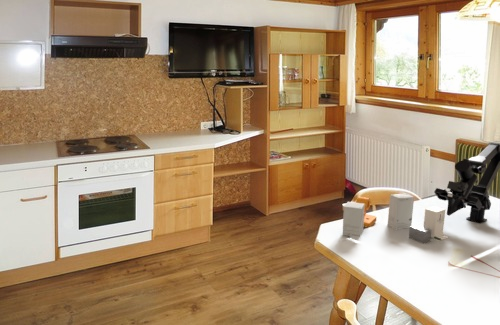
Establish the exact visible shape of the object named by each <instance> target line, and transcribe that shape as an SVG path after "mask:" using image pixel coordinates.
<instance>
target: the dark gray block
mask: <svg viewBox="0 0 500 325" xmlns="http://www.w3.org/2000/svg"><path fill="white" fill-rule="evenodd" d="M431 231H432V230H431V229H428V228H425V227H424V226H421V225H420V224H413V225H411V226H410V228H409V230H408V239H411V240H413V241H415V242H419V243H421V244H423V245H425V244H427V243H430V242H431V239H432V238H431Z"/></svg>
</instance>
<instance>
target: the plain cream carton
mask: <svg viewBox="0 0 500 325" xmlns="http://www.w3.org/2000/svg"><path fill="white" fill-rule="evenodd" d="M445 217H446V209H445V208H442V207H438V206H435V205H433V206H431V207H430V206H429V207H427V208H425V209H424V217H423V219H424V221H423V227H425V228H428V229H431V230H432V231H431V239H434V238H436V239H439V240H440V241H442V240H441V238H438V237H440V236H442V235H444V228H445V227H444V226H445Z"/></svg>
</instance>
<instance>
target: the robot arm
mask: <svg viewBox="0 0 500 325" xmlns="http://www.w3.org/2000/svg"><path fill="white" fill-rule="evenodd" d="M454 169H455V171H456V173H457V175H458V177H459V178H460V179H459V181H456V182H455V181H452V180H449V181H448V184H447V187H446V189H445V188H441V187H436V188H435V190H434V195H435V196H436V197H437V198H438V200H441V201H444V202H446V201H447V210H446V215H447V216H451V215H453V214H454V213H456V212H457V211H460V210H462V209H465V208H467V207H466V206H469V207H470V212H469V216H468V217H466V220H468V221H472V222H475V223H479V224H481V223H484V222H486V221H488V219H487V218H485V213H486V211H487V210H488V211H489V210H490V209H491V205H492V202H491V200H490V194H489V190H490V188H491V185H492V184H493V182H494V180H495V178H496V176H497V174H498V172H499V170H500V143H499V142H489V143H488V144H487V145H486V147H485V148H484V149H483V150H482V151H481V152H479V154H478V155H476V156H472V157H470V158H463V159H462V160H459V161H458V162H456V163H455V165H454ZM477 175H482V176H481V177H480V179H478V176H477ZM476 183H477V185H475V184H476ZM447 189H449V192H448V191H447Z"/></svg>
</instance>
